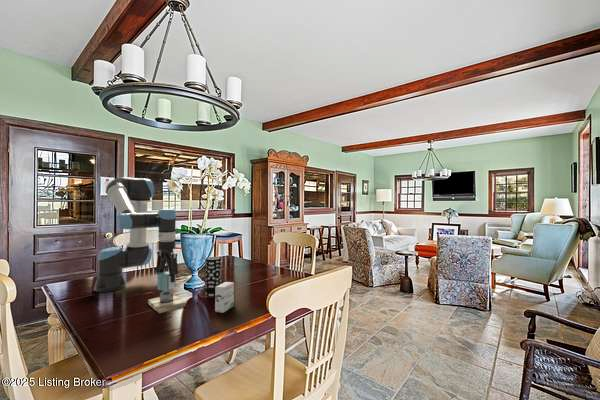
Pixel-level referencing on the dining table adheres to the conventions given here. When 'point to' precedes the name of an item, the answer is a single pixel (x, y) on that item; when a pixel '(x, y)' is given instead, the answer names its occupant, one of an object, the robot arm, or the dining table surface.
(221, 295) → the ink box
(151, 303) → the board
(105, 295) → the dining table surface
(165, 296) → the knobbed metal weight
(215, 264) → the white-spotted black cylinder
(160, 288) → the cap
